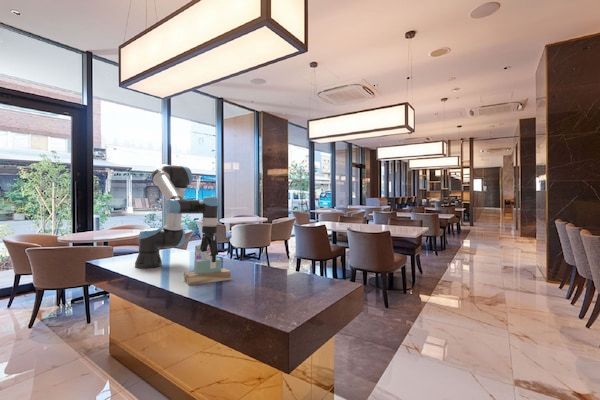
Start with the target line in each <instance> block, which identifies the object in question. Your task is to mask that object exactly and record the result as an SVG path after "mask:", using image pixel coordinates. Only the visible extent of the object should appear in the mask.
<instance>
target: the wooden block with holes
mask: <svg viewBox="0 0 600 400" xmlns="http://www.w3.org/2000/svg"><path fill="white" fill-rule="evenodd" d="M231 275H232V270H229V269H227V268H225V267H221V271H220V272H212V273H203V274H196V273H194V271H186V272H185V271H184V274H183V282H184V283H185V284H187V285H188V286H195V285H200V284H201V285H202V284H208V283H217V282H223V281H228V280H230V281H231V277H232V276H231Z"/></svg>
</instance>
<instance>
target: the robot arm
mask: <svg viewBox="0 0 600 400" xmlns="http://www.w3.org/2000/svg"><path fill="white" fill-rule="evenodd" d="M151 181H152V182H153V184H154V185H155V186H157V187H158V188H159V190H160V192H161V193H162V195H163V196H164V198H165V200H166V204H165V208H166V212H167V214H166V215H167V217H166V224H165V225H164V226H163V229H161V228H159V227H151V228H145V229H142V230H140V231H139V235H138V254H137V257H136V259H135V262H134V267H135V268H137V269H152V268H158V267H161V266H162V265H163V264H162V263H163V261H162V258H161V255H160V250H161V249H165V248H167V249H169V248H178V247H181V246H182V245H184V242H185V240H186V232H185V230H184V229H183V226H182V225H181V224H182V216H183V214H184V215H185V214H186V215H188V214H193V215H194V214H196V215H197V214H200V215H202V219H201V222H202V228H201V233H202V238H201V243H200V244H201V246H200V250H201V251H202V255H201V259H207V247H208V245H209V247H210V251H211V255H210V269H212V268H216V258H217V256H218V255H219V249H218V242H217V235H214V234H217V233H218V210H219V209H218V208H219V207H218V206H219V202H218V201H219V200H218V197H217V196H204V197H203V199H185V192H186V190H187V189H188V186H191V185H192V183H193V173H192V170H191V169H190V168H189V166H188V167H187V166H182V165H173V164H161V165H158V166H157V167H155V168H154V169H153V171H152V173H151Z"/></svg>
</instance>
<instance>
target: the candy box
mask: <svg viewBox="0 0 600 400" xmlns="http://www.w3.org/2000/svg"><path fill="white" fill-rule="evenodd" d="M200 246H201V243H199V244H197V245H195V250H194V261H195V260H201V255H202V251H201V250H200ZM210 255H211V251H210V247H209V245H208V247H207V259H210Z"/></svg>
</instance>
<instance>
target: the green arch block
mask: <svg viewBox="0 0 600 400" xmlns="http://www.w3.org/2000/svg"><path fill="white" fill-rule="evenodd" d="M222 260H223V259H222V258H219V257H216V268H212V269H210V259H201V260H195V259H194V269H193V272H194V273H196V274H203V273H212V272H220V271H221V268H222Z"/></svg>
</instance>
